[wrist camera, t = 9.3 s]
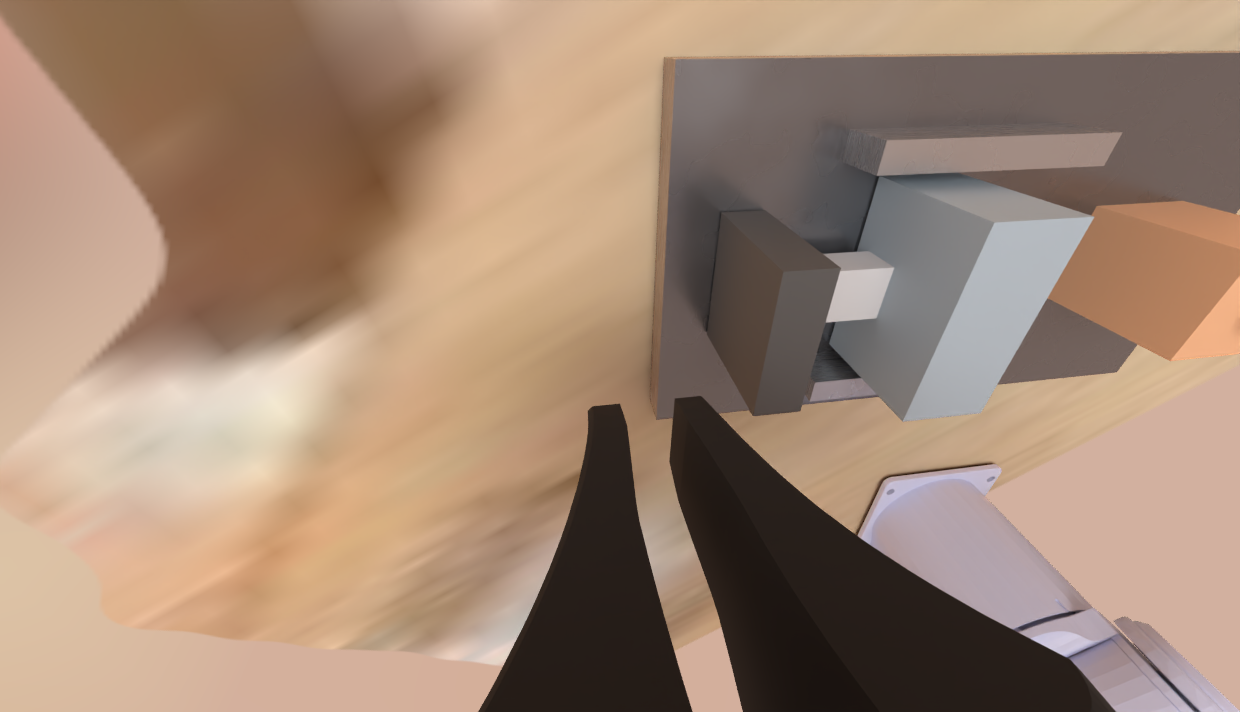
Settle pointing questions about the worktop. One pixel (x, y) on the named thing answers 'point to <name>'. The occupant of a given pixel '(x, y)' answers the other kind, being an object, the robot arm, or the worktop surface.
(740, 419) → the worktop surface
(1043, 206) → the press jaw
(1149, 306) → the housing block
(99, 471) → the worktop surface
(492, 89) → the worktop surface
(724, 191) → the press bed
